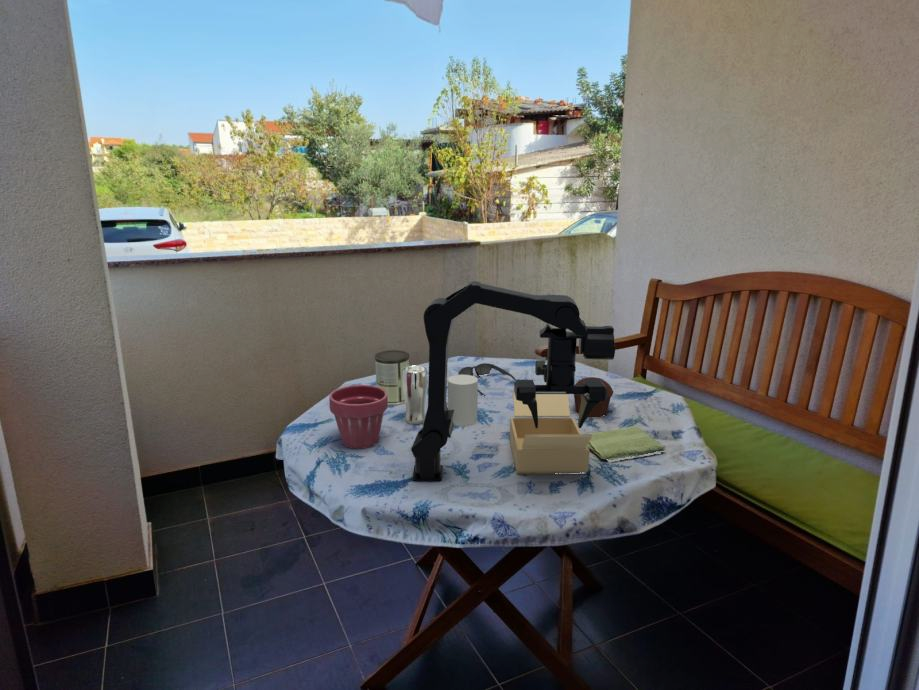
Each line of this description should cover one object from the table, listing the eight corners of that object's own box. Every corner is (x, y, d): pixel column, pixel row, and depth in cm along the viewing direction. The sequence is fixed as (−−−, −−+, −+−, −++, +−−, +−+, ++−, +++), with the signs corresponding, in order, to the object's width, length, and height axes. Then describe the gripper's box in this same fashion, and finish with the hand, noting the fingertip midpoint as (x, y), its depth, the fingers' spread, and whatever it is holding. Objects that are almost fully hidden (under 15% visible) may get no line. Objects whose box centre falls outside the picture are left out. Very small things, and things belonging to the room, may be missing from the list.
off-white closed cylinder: (483, 420, 153) (483, 379, 150) (462, 429, 148) (462, 386, 144) (462, 412, 159) (462, 372, 155) (441, 420, 153) (441, 379, 150)
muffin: (598, 402, 166) (600, 371, 163) (619, 416, 156) (622, 383, 153) (563, 407, 162) (565, 375, 160) (582, 422, 152) (585, 388, 149)
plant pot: (398, 433, 145) (396, 387, 141) (372, 457, 132) (370, 407, 128) (350, 426, 149) (348, 381, 146) (321, 448, 137) (317, 399, 133)
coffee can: (379, 392, 174) (377, 349, 170) (411, 393, 173) (411, 350, 170) (373, 405, 164) (371, 359, 160) (408, 405, 163) (407, 360, 160)
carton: (587, 474, 124) (589, 450, 123) (516, 474, 124) (517, 450, 123) (572, 439, 142) (573, 417, 140) (509, 439, 142) (510, 417, 140)
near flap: (525, 434, 117) (525, 436, 117) (591, 434, 117) (591, 436, 117) (521, 446, 123) (522, 448, 123) (584, 446, 123) (585, 448, 123)
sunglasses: (491, 373, 192) (492, 360, 190) (522, 393, 180) (524, 379, 178) (452, 383, 183) (453, 369, 181) (482, 404, 171) (483, 389, 169)
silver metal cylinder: (421, 427, 149) (420, 374, 145) (398, 423, 151) (397, 371, 147) (432, 417, 155) (431, 366, 151) (410, 413, 158) (408, 363, 153)
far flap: (567, 389, 143) (566, 390, 143) (513, 389, 143) (513, 390, 143) (570, 415, 139) (569, 416, 140) (514, 415, 139) (514, 416, 140)
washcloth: (576, 442, 141) (577, 430, 140) (637, 434, 146) (638, 423, 145) (603, 466, 129) (604, 453, 128) (668, 457, 134) (669, 444, 133)
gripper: (597, 346, 122) (592, 412, 126) (512, 347, 122) (510, 412, 126) (610, 362, 111) (605, 433, 115) (517, 362, 111) (515, 433, 115)
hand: (557, 427), depth 118 cm, fingers open, 9 cm apart
